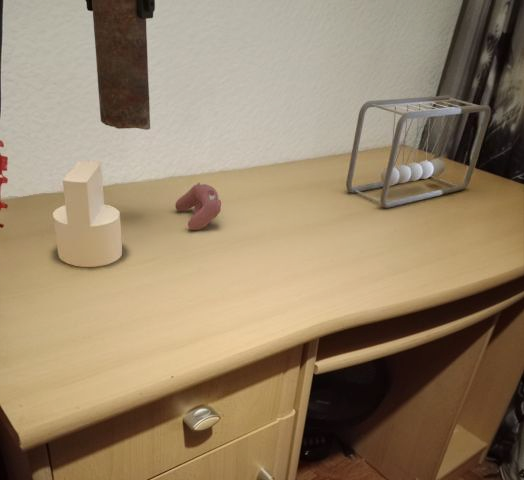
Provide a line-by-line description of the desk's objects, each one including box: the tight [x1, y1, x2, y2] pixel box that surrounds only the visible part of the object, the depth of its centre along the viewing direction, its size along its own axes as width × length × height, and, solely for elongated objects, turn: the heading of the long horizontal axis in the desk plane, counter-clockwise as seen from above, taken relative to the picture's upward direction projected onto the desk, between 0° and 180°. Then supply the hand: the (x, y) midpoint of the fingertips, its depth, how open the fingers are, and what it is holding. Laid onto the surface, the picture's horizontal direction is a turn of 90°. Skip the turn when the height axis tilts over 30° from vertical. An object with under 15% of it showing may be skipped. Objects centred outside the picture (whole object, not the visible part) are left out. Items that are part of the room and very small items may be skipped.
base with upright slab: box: [52, 160, 123, 268], centre depth 76 cm, size 9×9×12 cm
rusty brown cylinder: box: [92, 0, 151, 130], centre depth 78 cm, size 8×7×20 cm
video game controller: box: [174, 182, 222, 231], centre depth 92 cm, size 10×5×7 cm, turn 22°
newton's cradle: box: [345, 95, 492, 209], centre depth 112 cm, size 30×10×18 cm, turn 129°
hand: (120, 13), depth 75 cm, fingers closed on rusty brown cylinder, 7 cm apart
